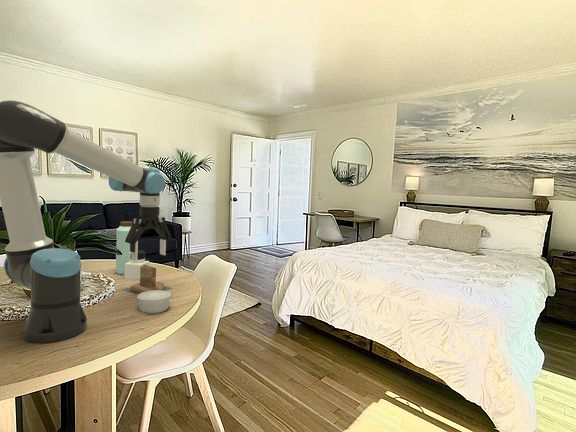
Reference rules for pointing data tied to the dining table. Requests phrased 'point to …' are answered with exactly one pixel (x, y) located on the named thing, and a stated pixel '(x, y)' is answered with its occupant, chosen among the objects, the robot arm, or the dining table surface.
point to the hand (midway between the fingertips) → (149, 257)
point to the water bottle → (123, 246)
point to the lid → (147, 281)
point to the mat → (138, 294)
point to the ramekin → (154, 301)
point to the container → (135, 266)
